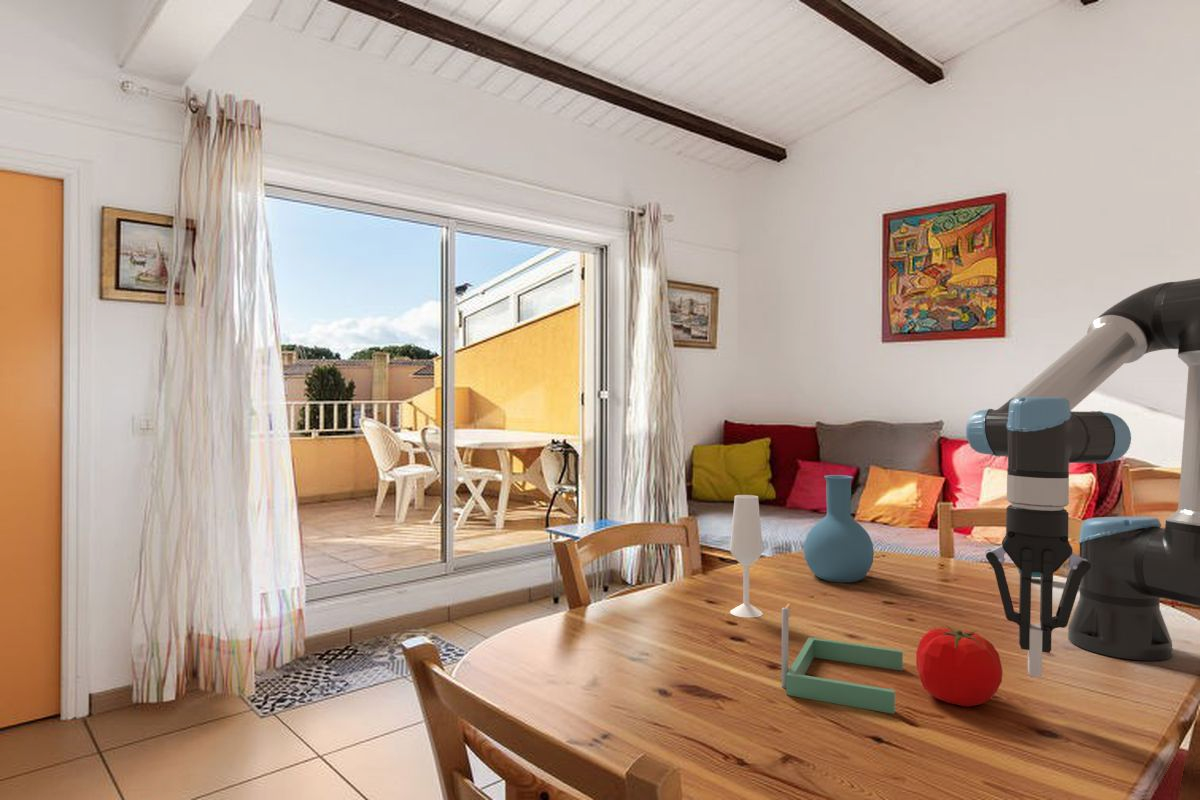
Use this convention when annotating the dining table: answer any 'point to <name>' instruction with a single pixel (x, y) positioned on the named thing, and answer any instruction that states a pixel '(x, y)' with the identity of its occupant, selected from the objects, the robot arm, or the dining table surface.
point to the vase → (838, 538)
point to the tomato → (958, 666)
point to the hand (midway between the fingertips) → (1034, 673)
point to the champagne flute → (746, 545)
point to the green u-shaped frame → (835, 689)
